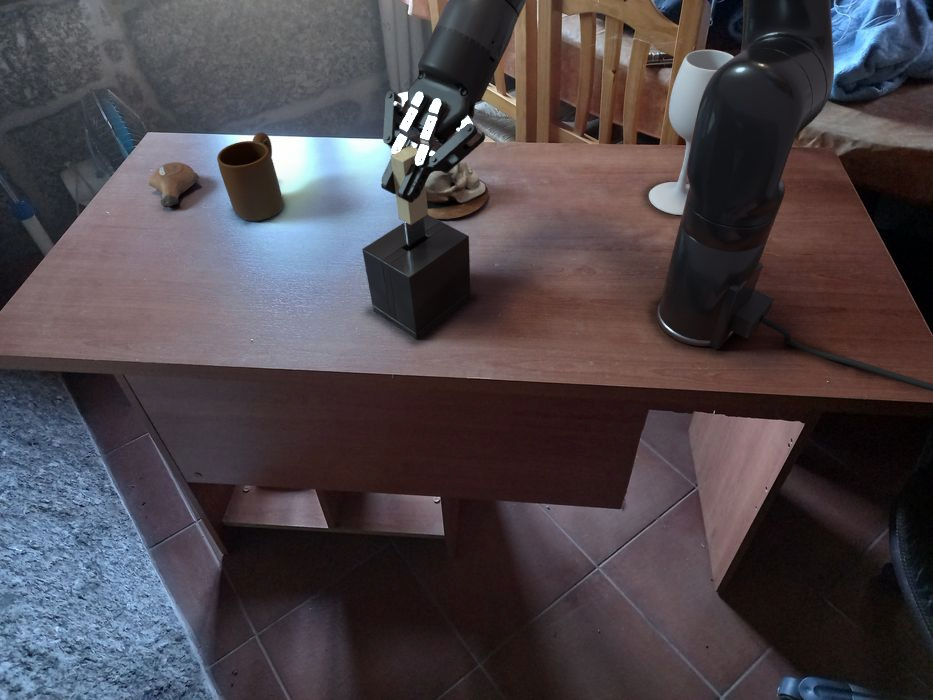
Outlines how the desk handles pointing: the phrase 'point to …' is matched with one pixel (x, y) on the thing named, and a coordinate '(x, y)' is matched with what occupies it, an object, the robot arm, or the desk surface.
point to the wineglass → (686, 119)
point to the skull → (454, 192)
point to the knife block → (419, 276)
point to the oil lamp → (172, 181)
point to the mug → (251, 178)
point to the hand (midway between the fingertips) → (396, 194)
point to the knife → (406, 210)
